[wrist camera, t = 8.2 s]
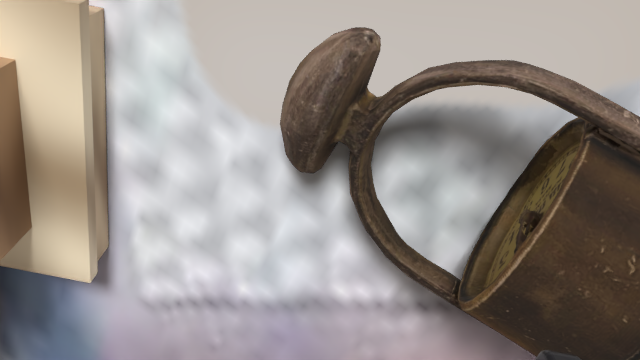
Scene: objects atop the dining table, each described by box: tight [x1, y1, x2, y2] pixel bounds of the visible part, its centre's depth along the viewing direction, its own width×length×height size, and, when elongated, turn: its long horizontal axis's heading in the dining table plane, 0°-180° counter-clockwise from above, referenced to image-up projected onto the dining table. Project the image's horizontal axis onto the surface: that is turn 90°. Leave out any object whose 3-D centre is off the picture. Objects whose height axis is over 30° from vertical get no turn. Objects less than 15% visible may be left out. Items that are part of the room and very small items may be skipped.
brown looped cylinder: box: [280, 28, 640, 360], centre depth 16 cm, size 7×13×10 cm
